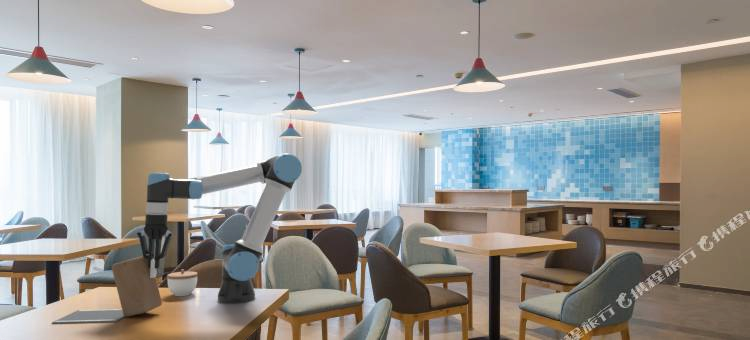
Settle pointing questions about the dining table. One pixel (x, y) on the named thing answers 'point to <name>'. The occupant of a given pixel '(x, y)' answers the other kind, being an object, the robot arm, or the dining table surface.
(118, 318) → the mat
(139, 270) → the wooden block
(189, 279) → the lidded bowl
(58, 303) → the dining table surface
